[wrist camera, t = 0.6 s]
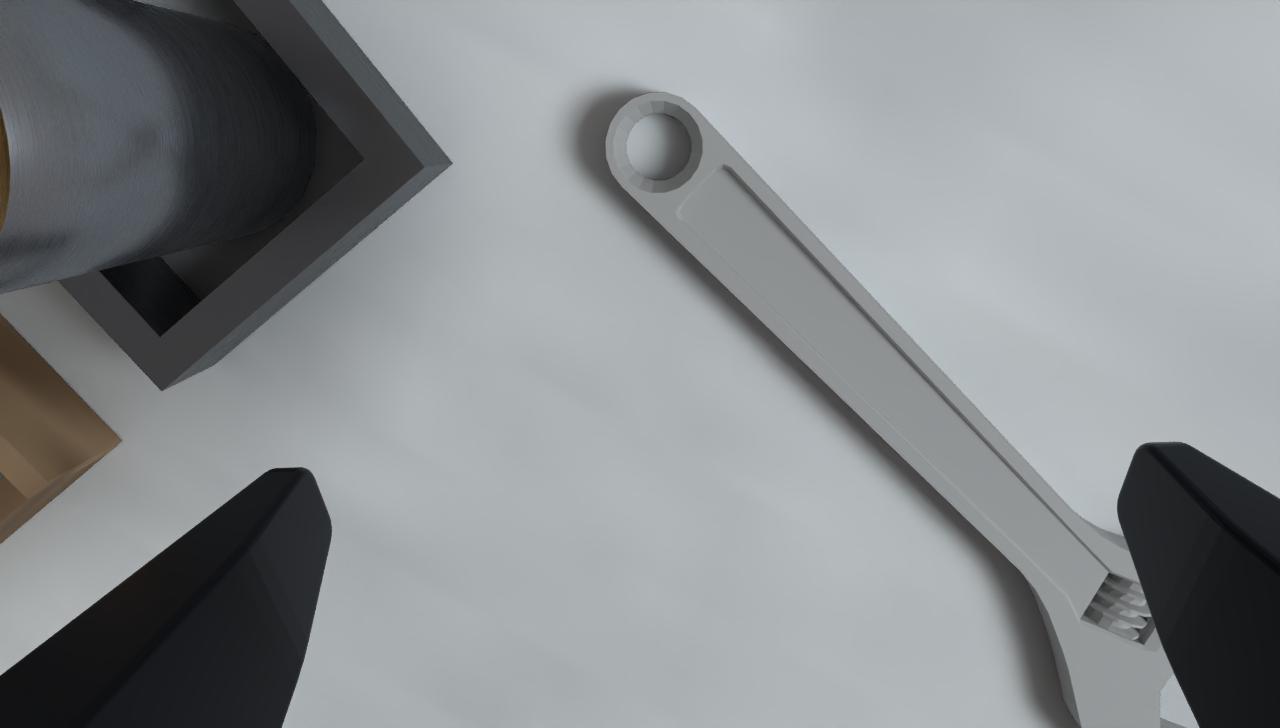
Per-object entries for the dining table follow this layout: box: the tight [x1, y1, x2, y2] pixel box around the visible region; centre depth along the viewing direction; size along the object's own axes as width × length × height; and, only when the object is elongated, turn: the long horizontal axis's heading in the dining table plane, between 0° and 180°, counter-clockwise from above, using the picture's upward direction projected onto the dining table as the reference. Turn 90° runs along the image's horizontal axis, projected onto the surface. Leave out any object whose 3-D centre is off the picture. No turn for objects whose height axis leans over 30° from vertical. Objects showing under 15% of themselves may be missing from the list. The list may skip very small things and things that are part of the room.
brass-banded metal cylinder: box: [0, 0, 316, 294], centre depth 16 cm, size 6×6×12 cm
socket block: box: [58, 0, 453, 391], centre depth 21 cm, size 9×9×2 cm
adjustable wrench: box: [605, 92, 1185, 728], centre depth 23 cm, size 25×6×2 cm, turn 41°
